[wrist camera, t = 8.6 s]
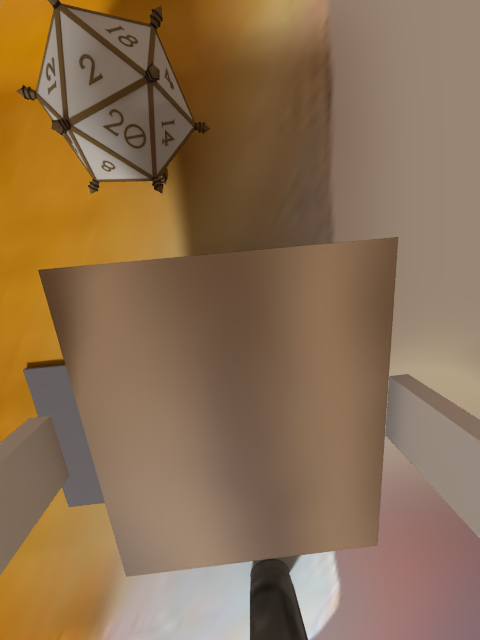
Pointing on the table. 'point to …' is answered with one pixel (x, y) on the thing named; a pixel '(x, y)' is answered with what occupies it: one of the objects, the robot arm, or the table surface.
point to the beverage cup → (274, 604)
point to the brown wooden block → (233, 398)
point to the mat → (66, 431)
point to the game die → (113, 95)
